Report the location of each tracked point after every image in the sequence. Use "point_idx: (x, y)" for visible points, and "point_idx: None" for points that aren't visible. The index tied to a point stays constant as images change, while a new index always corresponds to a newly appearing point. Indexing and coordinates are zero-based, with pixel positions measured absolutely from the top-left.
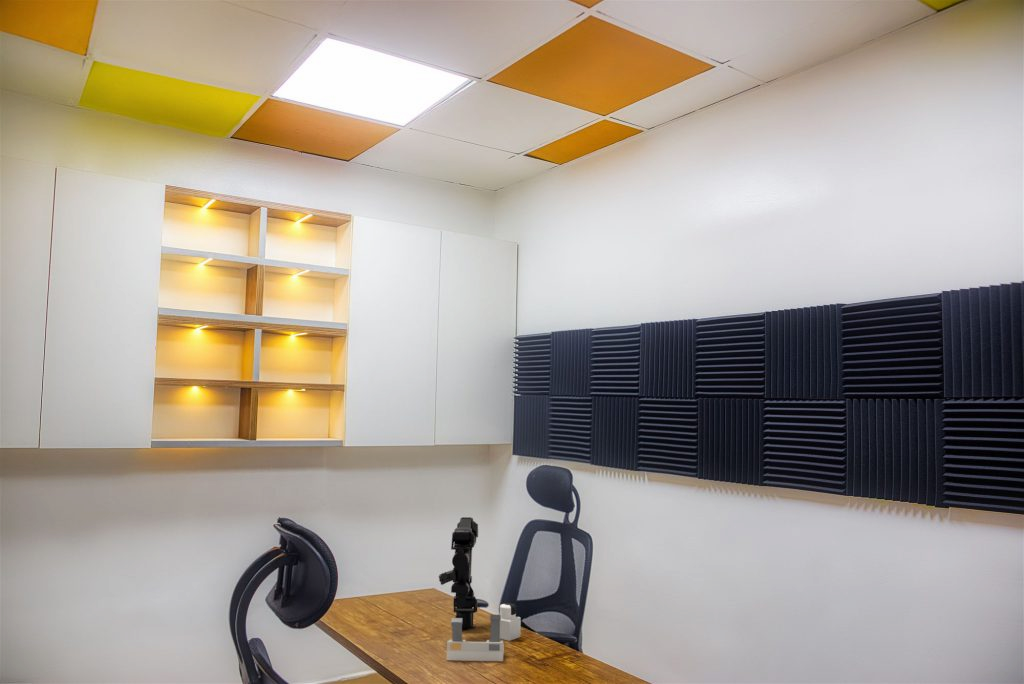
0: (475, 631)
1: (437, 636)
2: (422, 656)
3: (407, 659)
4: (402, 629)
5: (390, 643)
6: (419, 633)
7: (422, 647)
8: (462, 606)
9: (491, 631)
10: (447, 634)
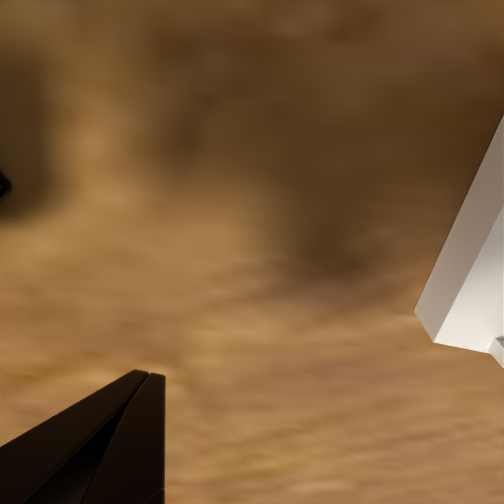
0: (7, 103)
1: (133, 333)
2: (441, 421)
3: (459, 470)
4: None
5: (230, 493)
6: None
7: (306, 408)
8: (163, 389)
9: None
10: (93, 284)
